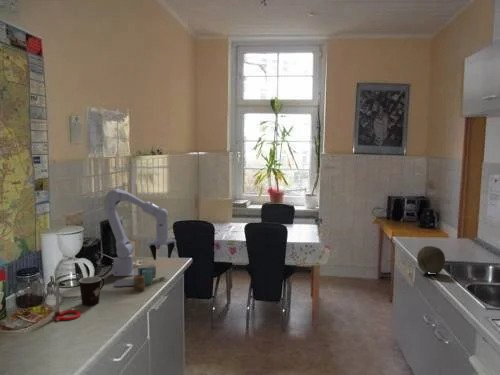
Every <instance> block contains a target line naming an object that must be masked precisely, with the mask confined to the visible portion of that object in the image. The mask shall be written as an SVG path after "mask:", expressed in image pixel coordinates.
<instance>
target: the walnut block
mask: <svg viewBox="0 0 500 375" xmlns="http://www.w3.org/2000/svg"><path fill="white" fill-rule="evenodd" d="M133 276H134V277H133V279H134V287H133V292H145V287H146V286H145V285H146V284H145V275H138V274H134V275H133Z"/></svg>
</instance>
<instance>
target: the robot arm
mask: <svg viewBox="0 0 500 375" xmlns="http://www.w3.org/2000/svg"><path fill="white" fill-rule="evenodd" d="M104 201H105V202H104V205H103V206H104V208H103V209H104V211H105V214H106V217H107V219H108V222H109V226H110V228H111V231H112V233H113V235H114V238H115V248H116V255H117V256H116V257H113V263H112V264H113V266H112V267H113V269H112V270H113V272H112V273H113V275H112V276H113V277H132V276H134V273H135V270H134V267H133V266H134V265H133V262H134V261H133V258H134V257H133V252H134V249H135V248H134V245H133V243H131V242H130V239H129V238H128V237H127V235H126V233H125V229H124V227H123V224H122V222H121V219H120V216H119V214H118V212H117V211H118V210H117V209H116V208H117V207H118V205H119V204H120V202H129V203H131V204H133V205H135V206H137V207H139V208H141V211H142V212H144V213H146V214H148V215H149V216H151V217H153V218H154V219H155V220H156V223H155V227H156V228H155V229H156V230H155V240H153V241H152V240H150V241H147V242H146V243H147V247H148V248H149V249H150V251H151V254H152V258H153V260H154V261H156V260H157V247H156V246H164V245H166V246H167V258H168V259H171V257H172V254H173V251H174V248H175V247H176V246H175V245H177V240H176V239H168V237H169V236H168V233H169V231H168V229H169V227H168V226H169V225H168V217H169V215H170V214H169V210H168V209H166V208H164V207H161V206H160V205H159V206H158V205H156V204H154V202H153V201H144V200H142V199H140V198H138V196H135V195H134V194H132V193H130V192H129V191H127V190H123V189H122V188H119V187H118V188H114V189H110V190H109V191H108V192H107V193H106V194H105V200H104Z"/></svg>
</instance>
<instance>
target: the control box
mask: <svg viewBox="0 0 500 375" xmlns="http://www.w3.org/2000/svg"><path fill="white" fill-rule="evenodd" d="M136 267H137V275H142V271H143V270H148V269H152V278H156V276H157V266H156V265H155V264H144V265H137V266H136Z"/></svg>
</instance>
